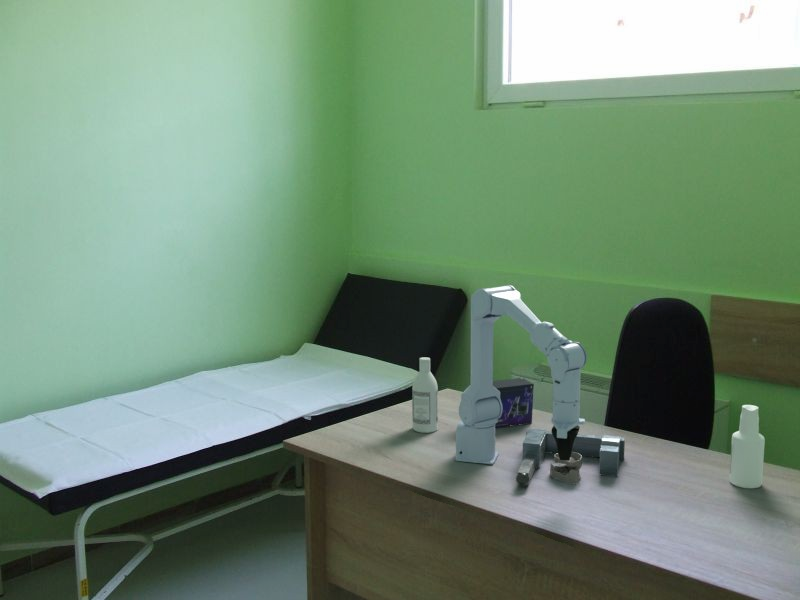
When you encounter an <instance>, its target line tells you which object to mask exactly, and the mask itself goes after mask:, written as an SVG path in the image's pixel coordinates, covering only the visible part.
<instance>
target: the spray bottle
mask: <svg viewBox="0 0 800 600" xmlns="http://www.w3.org/2000/svg"><path fill="white" fill-rule="evenodd" d="M759 416H760V415H759V406H757V405H755V404H754V405H752V404H743V405H742V406H741V413H740V416H739V418H740V419H739V428H738V431H737V430H736V431H735V432H733V433H732V434H731V443H730V445H731V447H730V449H731V450H730V460H729V461H730V463H729V464H730V465H729V482H730V483H731V485H733V486H736V487H739V488H741V489H758V488H760V487H762V483H763V472H764V457H765V446H766V445H765V444H766V443H765V442H766V439H765V436H764V435H762V433H760V426H759V425H760V417H759Z"/></svg>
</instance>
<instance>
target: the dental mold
mask: <svg viewBox="0 0 800 600" xmlns="http://www.w3.org/2000/svg"><path fill="white" fill-rule="evenodd" d="M553 456H554V458H553V459H554V464H555V465H554V464H553V463H550V466H549V467H550V468H549V469H550V470H549V476H550V477H551V478H552V477H553V478H552V479H554V478H556V479H555V480H557V481H558V480H559V481H561V482H563V483H566V482H567V483H566V484H573V483H575V485H577V484H576V483H578V482H579V481H581V480H582V477H581V474H580V469H581V468H582V463H583V462H582V460H583V456H581V455H580V454H579V453H576V452H572V453H571V457H570V460H569V461H566V460H560V458H559V454H553ZM556 464H560V465H556ZM579 483H580V482H579ZM579 483H578V484H579Z"/></svg>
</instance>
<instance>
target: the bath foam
mask: <svg viewBox="0 0 800 600" xmlns="http://www.w3.org/2000/svg"><path fill="white" fill-rule="evenodd" d="M418 362H419V368H418V369H419V372H418V373H417V375H416V376H415V378H414V380H413V382H412V389H411V390H412V391H411V393H412V398H411V401H412V402H411V403H412V410H411V411H412V430H413V431H414V432H417V433H421V434H430V433H434V432H436V431H437V430H438V428H439V388H438V382H437V380H436V378H435V376H434V374H433V373H432V372H431V358H430V357H425V356H424V357H423V356H422V357H419V361H418Z"/></svg>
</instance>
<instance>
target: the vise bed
mask: <svg viewBox="0 0 800 600" xmlns="http://www.w3.org/2000/svg"><path fill="white" fill-rule="evenodd" d="M529 429H530V428H528V429H526V431H525V436H526V435H527V433H528V431H529ZM551 431H552V430H550V431H549V430H546V445H545V452H552V453H551V454H554V453H558V449H557V444H556V441H555V438H554V436H553V435H552V432H551ZM625 443H626V438H625V437H621V435H620V436H619V435H608V434H603V435H597V434H595V435H593V434H583V433H578V434H577V436H576V438H575V440H574V443H573V448H572V452H576V453H579V454H580V455H582V457H585V456H593V457H592V458H596V457H600V458H599V467H598V468H599V473H598V474H601V475H600V476H607V475H608V476H609V477H618V473H619V466H620V461H624V460H625V449H626V448H625V447H626V446H625V445H626V444H625Z"/></svg>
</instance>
